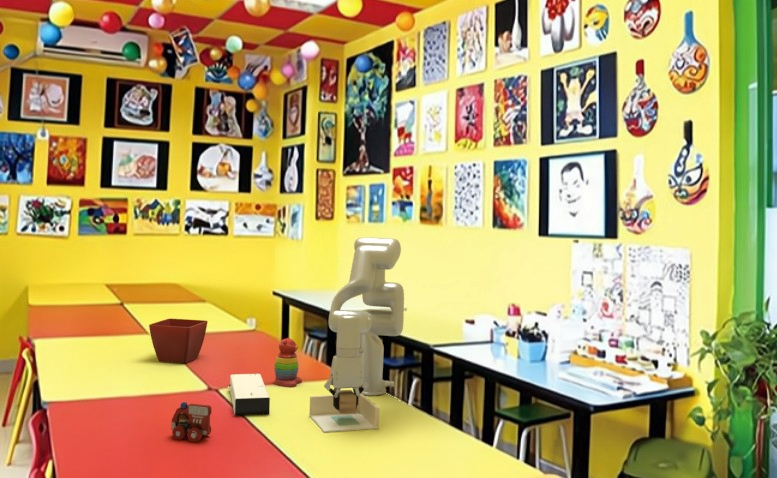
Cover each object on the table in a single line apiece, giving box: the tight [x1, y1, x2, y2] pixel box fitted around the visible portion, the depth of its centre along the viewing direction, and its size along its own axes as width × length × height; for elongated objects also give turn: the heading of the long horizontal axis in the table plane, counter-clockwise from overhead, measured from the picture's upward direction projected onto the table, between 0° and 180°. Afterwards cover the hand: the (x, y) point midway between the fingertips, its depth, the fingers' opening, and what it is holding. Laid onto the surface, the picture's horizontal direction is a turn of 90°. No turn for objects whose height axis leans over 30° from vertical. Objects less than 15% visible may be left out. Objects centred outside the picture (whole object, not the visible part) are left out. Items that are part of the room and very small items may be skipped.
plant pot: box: [148, 318, 208, 364], centre depth 299 cm, size 19×19×17 cm
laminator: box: [227, 373, 271, 417], centre depth 239 cm, size 34×12×6 cm, turn 16°
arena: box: [309, 393, 380, 434], centre depth 220 cm, size 18×18×7 cm
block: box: [338, 389, 356, 414], centre depth 219 cm, size 8×5×6 cm, turn 15°
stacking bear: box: [273, 337, 303, 388], centre depth 266 cm, size 11×10×18 cm
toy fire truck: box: [171, 401, 212, 443], centre depth 199 cm, size 7×12×10 cm, turn 74°
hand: (345, 407), depth 219 cm, fingers closed on block, 5 cm apart
